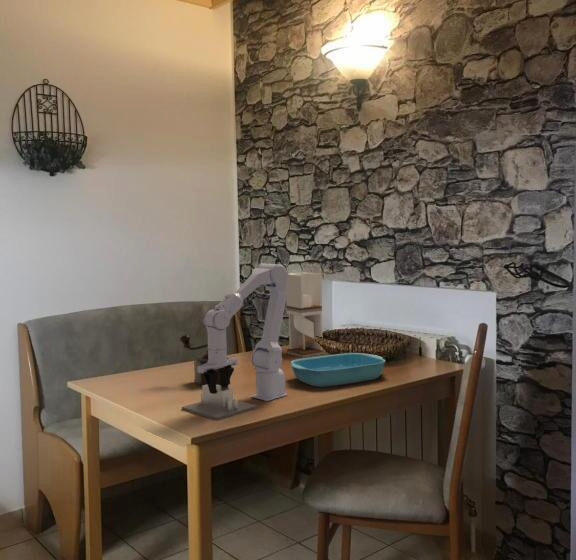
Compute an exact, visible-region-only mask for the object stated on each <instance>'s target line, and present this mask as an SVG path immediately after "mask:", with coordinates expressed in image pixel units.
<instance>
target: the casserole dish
mask: <svg viewBox="0 0 576 560" xmlns="http://www.w3.org/2000/svg"><path fill="white" fill-rule="evenodd" d="M385 364H386V359H384V357H382V356H379V355H375V354H369V353H362V352H346V353H338V354H337V353H336V354H330V355H329V354H328V355H318V356H312V357H306V358H298V359H293V360H292V361H290V365H291V366H290V367H291V368H292V371H293V374H294V376H295V377H296V379H298V380H299V381H300V382H302V383H305V384H307V385H310V386H313V387H315V388H323V387H324V388H325V387H326V388H327V387H328V388H329V387H335V386H339V385H340V386H342V385H348V384H354V383H355V384H356V383H362V382H366V381H373V380H377V379H378V378H379V377H380V376H381V375H382V372H383V370H384V367H385Z"/></svg>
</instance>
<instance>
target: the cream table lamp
mask: <svg viewBox="0 0 576 560" xmlns="http://www.w3.org/2000/svg"><path fill="white" fill-rule="evenodd" d="M287 287H288V293H287V298H286V303H285V309H286V310H285V311H286V314H288V332H289V333H288V337H289V338H288V339H289V341H288V342H289V348H287V349H286V350H287V353H288V354H287V355H290V354H292V355H291V356H294V355H295V357H297V356H299V357H298V358H301V357H302V358H301V359H304V358H303V357H306V358H309V357H308V356H312V357H315V356H314V355H317V356H321V355H320V354H324V352H323V350H324V348H323V349H322V347H321V346H320V345H319V344H317V343H316V342H315V341H314V337H315V336H319V337H322V338H323V304H322V303H323V298H322V297H323V296H322V295H323V294H322V292H323V290H322V273H317V272H316V273H315V272H305V271H304V272H293V273H288V278H287Z"/></svg>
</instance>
